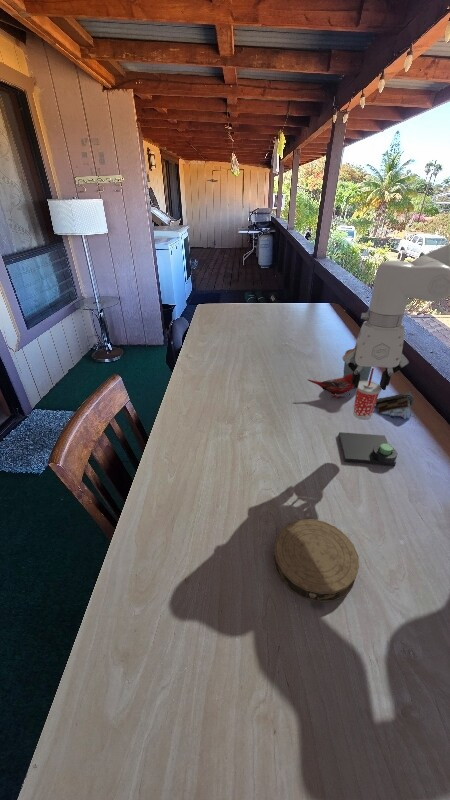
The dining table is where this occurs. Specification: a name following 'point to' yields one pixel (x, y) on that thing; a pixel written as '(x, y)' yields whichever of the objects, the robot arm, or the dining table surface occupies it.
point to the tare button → (385, 449)
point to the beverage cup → (366, 398)
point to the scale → (365, 449)
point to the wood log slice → (315, 560)
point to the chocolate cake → (396, 405)
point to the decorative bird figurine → (336, 385)
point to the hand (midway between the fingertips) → (368, 386)
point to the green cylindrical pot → (363, 373)
